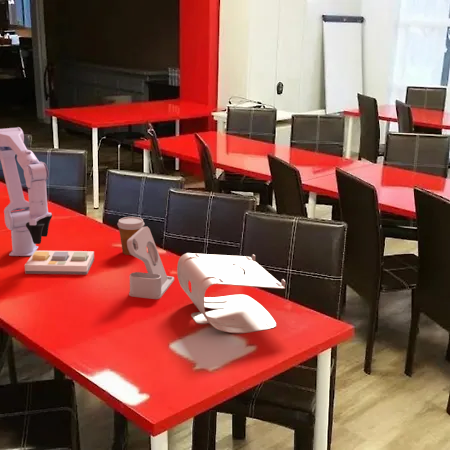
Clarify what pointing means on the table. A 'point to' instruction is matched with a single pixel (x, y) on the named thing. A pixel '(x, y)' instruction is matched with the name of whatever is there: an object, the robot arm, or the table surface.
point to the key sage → (80, 256)
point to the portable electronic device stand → (233, 304)
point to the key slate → (60, 256)
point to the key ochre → (40, 256)
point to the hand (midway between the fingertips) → (40, 239)
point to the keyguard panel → (59, 264)
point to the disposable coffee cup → (128, 230)
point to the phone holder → (147, 267)
